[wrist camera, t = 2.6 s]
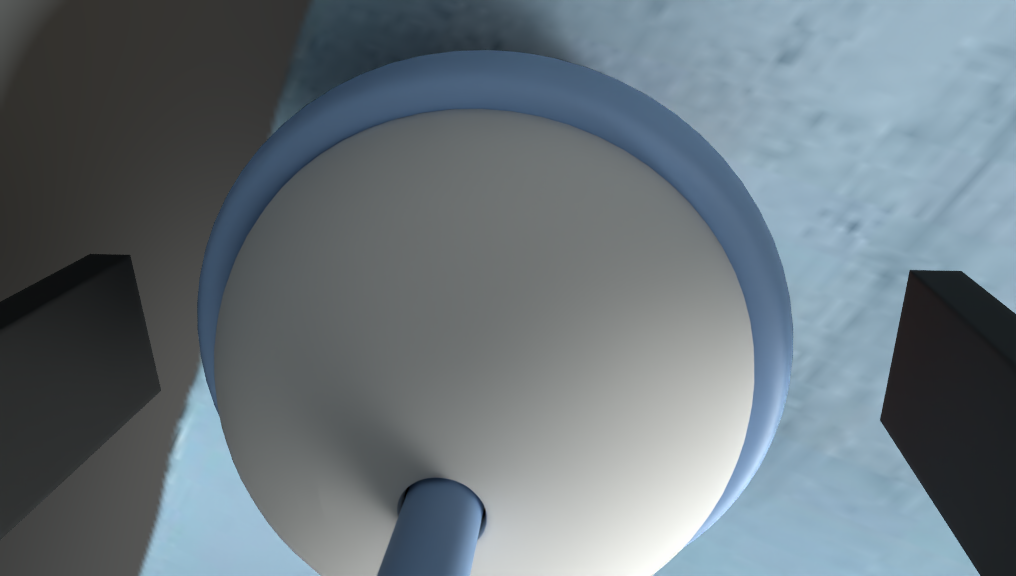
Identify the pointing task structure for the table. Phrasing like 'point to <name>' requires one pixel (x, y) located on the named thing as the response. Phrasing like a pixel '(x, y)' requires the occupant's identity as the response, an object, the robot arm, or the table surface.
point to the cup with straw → (492, 324)
